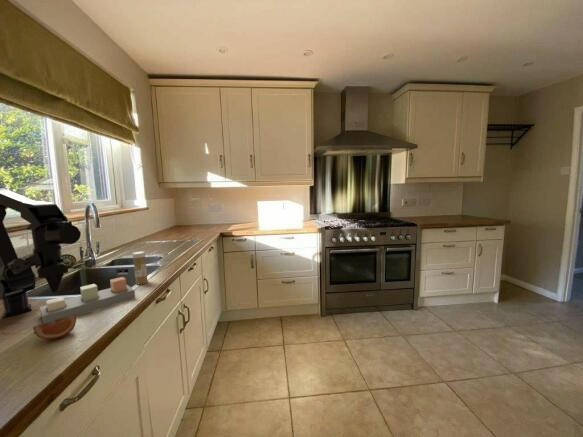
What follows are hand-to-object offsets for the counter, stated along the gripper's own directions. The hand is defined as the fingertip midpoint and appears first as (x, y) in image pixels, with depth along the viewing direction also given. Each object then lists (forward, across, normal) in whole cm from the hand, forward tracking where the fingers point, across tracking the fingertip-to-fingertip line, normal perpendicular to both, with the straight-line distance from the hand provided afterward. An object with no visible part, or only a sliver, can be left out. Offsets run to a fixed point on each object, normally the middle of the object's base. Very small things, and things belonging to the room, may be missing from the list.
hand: (54, 291), depth 78 cm
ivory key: (+8, 0, 0) cm, 8 cm away
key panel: (+8, 0, +8) cm, 12 cm away
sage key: (+6, 0, +8) cm, 10 cm away
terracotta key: (+6, 0, +17) cm, 18 cm away
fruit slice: (+8, +16, -2) cm, 18 cm away
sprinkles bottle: (+8, -10, +27) cm, 30 cm away
